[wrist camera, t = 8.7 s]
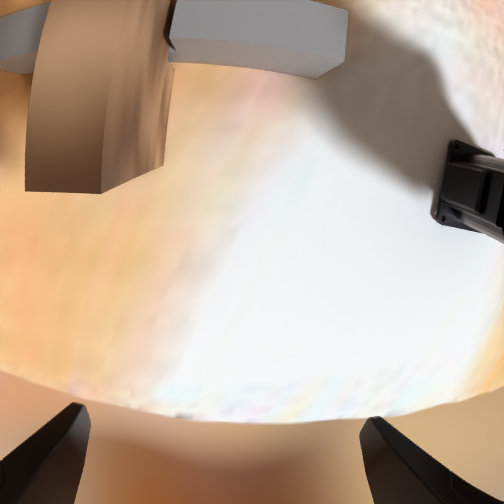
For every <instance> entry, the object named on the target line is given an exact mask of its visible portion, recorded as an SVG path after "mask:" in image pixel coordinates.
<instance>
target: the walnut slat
mask: <svg viewBox="0 0 504 504" xmlns="http://www.w3.org/2000/svg"><path fill="white" fill-rule="evenodd" d="M176 3H177V0H51V3H50V6H49V10H48V13H47V17H46V20H45V24H44V28H43V31H42V35H41V39H40V44H39V48H38V53H37V58H36V63H35V68H34V74H33V80H32V86H31V93H30V101H29V109H28V119H27V131H26V149H25V191H31V192H65V193H89V194H102V193H104V192H106V191H108V190H110V189H112V188H114V187H116V186H119V185H121V184H123V183H125V182H127V181H129V180H131V179H133V178H136V177H138V176H140V175H142V174H145V173H147V172H149V171H151V170H154V169H156V168H158V167H161V166H163V162H164V151H165V141H166V131H167V122H168V114H169V106H170V98H171V91H172V84H173V77H174V71H175V69H174V68H173V66H172V65H171V64H170V62H169V61H168V60H167V59H168V53H169V48H170V42H171V40H170V39H169V35H170V30H171V25H172V21H173V16H174V11H175V7H176Z"/></svg>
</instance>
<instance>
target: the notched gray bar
mask: <svg viewBox="0 0 504 504" xmlns="http://www.w3.org/2000/svg"><path fill="white" fill-rule="evenodd" d="M50 3H51V2H48V3H44V4H41V5H37V6H33V7H30V8H27V9H24V10H21V11H18V12H15V13H12V14H9V15H6V16H3V17H1V18H0V70H1V71H6V72H11V73H16V74H20V75H24V74H29V73H34V68H35V63H36V58H37V53H38V48H39V44H40V39H41V35H42V31H43V28H44V24H45V20H46V17H47V13H48V10H49V6H50ZM348 13H349V11H348V10H345V9H342V8H338V7H334V6H331V5H327V4H323V3H319V2H315V1H311V0H177V3H176V7H175V11H174V16H173V21H172V25H171V30H170V35H169V39H170V40H171V42H170V48H169V53H168V59H167V60H168V61H169V62H182V63H201V64H215V65H226V66H236V67H245V68H253V69H260V70H267V71H273V72H279V73H285V74H291V75H296V76H301V77H306V78H311V79H317V78H318V77H320V76H322V75H323V74H325V73H327V72H328V71H330V70H332V69H333V68H335V67H337V66H338V65H340V64H342V63H343V62H344V60H345V50H346V39H347V27H348Z"/></svg>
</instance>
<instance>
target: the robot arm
mask: <svg viewBox="0 0 504 504" xmlns="http://www.w3.org/2000/svg"><path fill="white" fill-rule="evenodd" d="M455 145H456V148H455ZM442 216H443V218H442V220H441V217H442ZM436 221H437V223H439V224H441V225H445V226H450V227H455V228H460V229H465V230H469V231H474V232H479V233H483V234H486V235H488V236H490V237H492V238H494V239H496V240H498V241H499V242H501V243H503V244H504V159H501V158H496V157H494V156H492V155H490V154H488V153H486V152H484V151H482V150H479V149H477V148H475V147H473V146H470V145H468V144H466V143H463V142H461V141H459V140H451V141H450V143H449V148H448V155H447V161H446V167H445V173H444V179H443V184H442V189H441V194H440V199H439V204H438V208H437V213H436ZM90 427H91V421H90V418H89V414H88V412H87V408H86V406H85V405H84V404H81V403H77V402H72V403H71V404H69V405H68V406H67V407H66V408H64V409H63V410H62V411H61V412H60V413H58V414H57V415H56V416H55V417H53V418H52V419H51V420H50V421H48V422H47V423H46V424H45V425H44V426H42V427H41V428H40V429H39V430H37V431H36V432H35V433H34V434H33V435H31V436H30V437H29V438H28V439H27V440H25V441H24V442H23V443H21V444H20V445H19V446H18V447H17V448H15V449H14V450H13V451H12V452H10V453H9V454H8V455H7V456H5V457H4V458H3V460H0V504H74V502H75V497H76V494H77V490H78V486H79V483H80V479H81V475H82V472H83V467H84V463H85V457H86V450H87V444H88V439H89V433H90ZM359 438H360V444H361V449H362V455H363V461H364V467H365V472H366V476H367V480H368V483H369V487H370V490H371V494H372V497H373V501H374V504H504V501H500V500H498V499H496V498H494V497H492V496H490V495H488V494H487V493H485V492H483V491H481V490H480V489H478V488H476V487H474V486H472V485H471V484H469V483H468V482H466V481H465V480H463V479H462V478H460V477H459V476H457V475H456V474H455V473H453V472H452V471H450V470H449V469H448V468H447V467H445V466H444V465H442V464H441V463H440V462H438V461H437V460H436V459H434V458H433V457H432V456H431V455H429V454H428V453H426V452H425V451H424V450H423V449H421V448H420V447H419V446H417V445H416V444H415V443H414V442H412V441H411V440H410V439H408V438H407V437H406V436H405V435H403V434H402V433H401V432H399V431H398V430H397V429H396V428H394V427H393V426H392V425H391V424H389V423H388V422H387V421H386V420H384V419H383V418H382V417H380V416H375V417H369V418H368V419H367V420H366V422H365V424H364V426H363V428H362V430H361V431H360V437H359Z"/></svg>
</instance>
